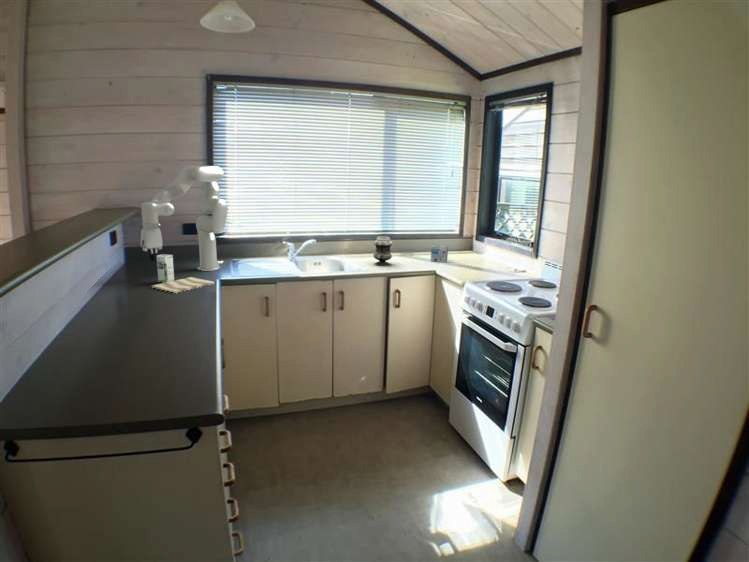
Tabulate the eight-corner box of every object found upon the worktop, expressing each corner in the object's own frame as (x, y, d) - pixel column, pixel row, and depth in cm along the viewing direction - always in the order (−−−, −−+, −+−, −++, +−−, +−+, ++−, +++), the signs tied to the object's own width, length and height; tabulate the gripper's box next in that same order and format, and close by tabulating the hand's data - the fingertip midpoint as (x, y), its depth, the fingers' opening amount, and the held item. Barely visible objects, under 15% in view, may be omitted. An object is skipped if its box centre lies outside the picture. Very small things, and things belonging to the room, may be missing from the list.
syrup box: (157, 282, 248) (155, 255, 245) (166, 280, 254) (164, 253, 250) (166, 284, 246) (164, 256, 243) (174, 281, 252) (172, 254, 248)
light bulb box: (430, 261, 324) (431, 246, 322) (432, 259, 331) (432, 244, 328) (445, 262, 321) (446, 247, 319) (447, 261, 328) (448, 245, 325)
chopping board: (191, 279, 258) (191, 277, 258) (214, 283, 249) (214, 281, 249) (151, 288, 238) (151, 285, 237) (175, 293, 229) (175, 291, 229)
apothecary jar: (391, 266, 305) (392, 238, 301) (372, 266, 305) (373, 238, 301) (391, 262, 316) (392, 236, 312) (373, 262, 317) (374, 235, 312)
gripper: (159, 224, 256) (161, 258, 260) (133, 226, 243) (135, 262, 247) (168, 225, 252) (170, 260, 256) (142, 228, 239) (144, 264, 243)
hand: (153, 260), depth 252 cm, fingers closed
